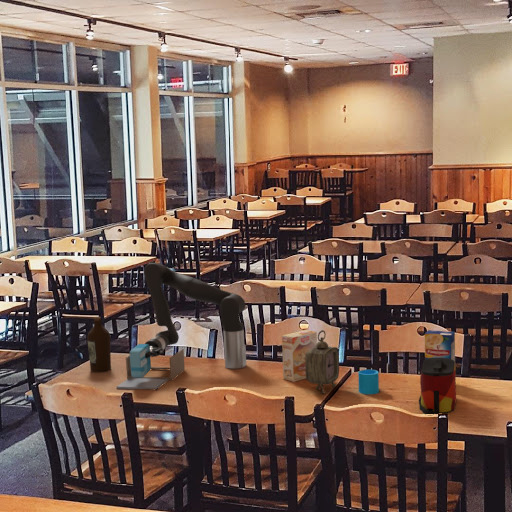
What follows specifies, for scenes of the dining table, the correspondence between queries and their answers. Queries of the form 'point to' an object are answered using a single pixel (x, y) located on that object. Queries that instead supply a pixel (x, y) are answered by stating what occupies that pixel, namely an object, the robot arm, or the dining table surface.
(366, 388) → the mug
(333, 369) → the tabletop clock
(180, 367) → the bookend rack
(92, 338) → the olive oil
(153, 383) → the board
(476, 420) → the dining table surface
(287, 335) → the coffeecake box
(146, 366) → the data package
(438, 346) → the beverage box
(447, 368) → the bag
